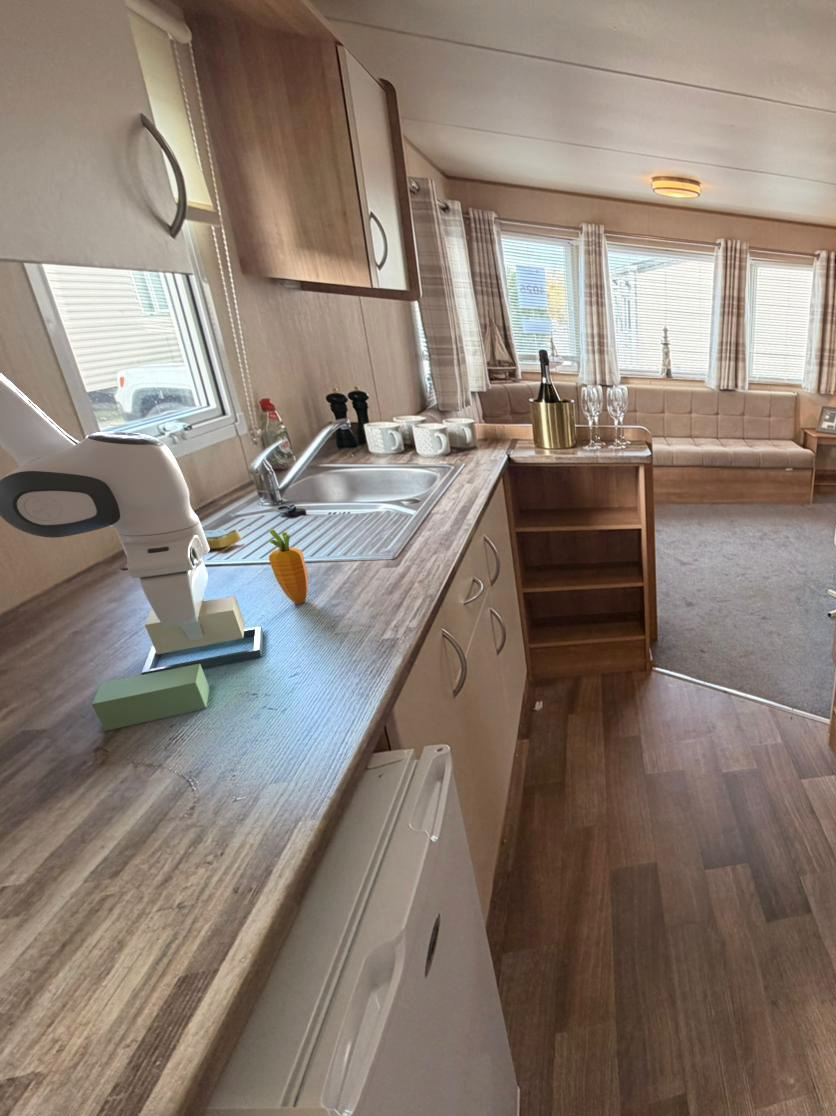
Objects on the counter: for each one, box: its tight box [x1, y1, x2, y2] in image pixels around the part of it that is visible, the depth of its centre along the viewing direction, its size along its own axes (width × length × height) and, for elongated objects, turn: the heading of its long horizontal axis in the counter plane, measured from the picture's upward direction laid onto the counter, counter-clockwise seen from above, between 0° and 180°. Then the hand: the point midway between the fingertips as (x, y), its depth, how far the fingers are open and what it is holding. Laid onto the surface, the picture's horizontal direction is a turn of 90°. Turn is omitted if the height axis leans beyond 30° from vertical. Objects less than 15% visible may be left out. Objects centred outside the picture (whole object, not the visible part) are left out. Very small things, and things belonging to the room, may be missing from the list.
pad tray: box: [140, 625, 264, 675], centre depth 101 cm, size 14×10×2 cm
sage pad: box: [91, 664, 211, 732], centre depth 87 cm, size 10×6×5 cm, turn 126°
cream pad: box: [144, 595, 246, 655], centre depth 99 cm, size 10×6×5 cm, turn 126°
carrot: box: [268, 529, 309, 605], centre depth 116 cm, size 5×5×15 cm
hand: (199, 628), depth 99 cm, fingers closed on cream pad, 6 cm apart
